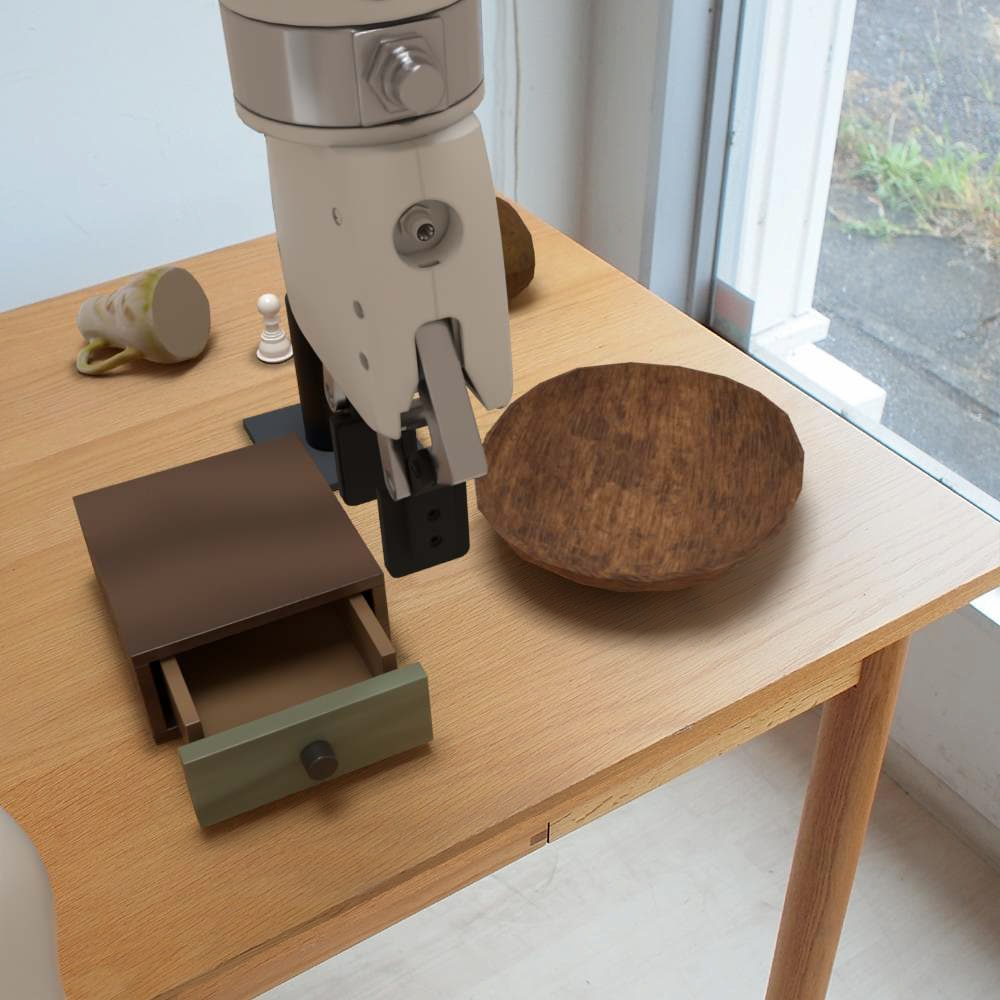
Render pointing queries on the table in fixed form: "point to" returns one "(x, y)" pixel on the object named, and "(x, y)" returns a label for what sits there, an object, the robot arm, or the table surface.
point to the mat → (292, 422)
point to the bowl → (640, 475)
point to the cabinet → (220, 555)
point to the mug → (146, 320)
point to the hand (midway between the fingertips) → (403, 523)
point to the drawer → (291, 706)
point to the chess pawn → (272, 332)
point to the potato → (515, 249)
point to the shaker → (310, 388)
